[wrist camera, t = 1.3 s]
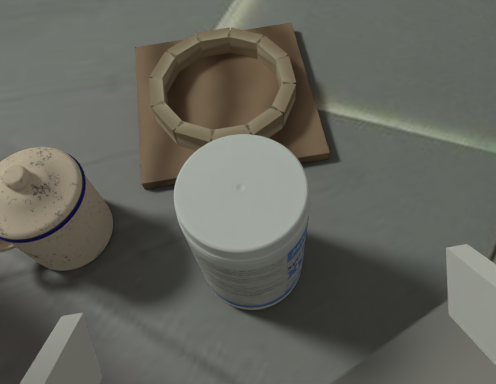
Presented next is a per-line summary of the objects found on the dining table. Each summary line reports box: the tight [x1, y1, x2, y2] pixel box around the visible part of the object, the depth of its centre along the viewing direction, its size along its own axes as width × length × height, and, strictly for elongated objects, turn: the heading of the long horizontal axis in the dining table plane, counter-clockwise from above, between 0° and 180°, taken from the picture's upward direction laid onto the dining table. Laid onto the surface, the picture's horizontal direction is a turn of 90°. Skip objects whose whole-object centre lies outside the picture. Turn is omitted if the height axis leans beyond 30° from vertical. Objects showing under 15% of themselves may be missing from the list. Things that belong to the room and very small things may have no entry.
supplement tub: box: [174, 134, 310, 310], centre depth 36 cm, size 10×10×15 cm
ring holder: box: [135, 23, 330, 189], centre depth 50 cm, size 20×20×4 cm
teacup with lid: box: [0, 147, 113, 271], centre depth 40 cm, size 12×9×12 cm
